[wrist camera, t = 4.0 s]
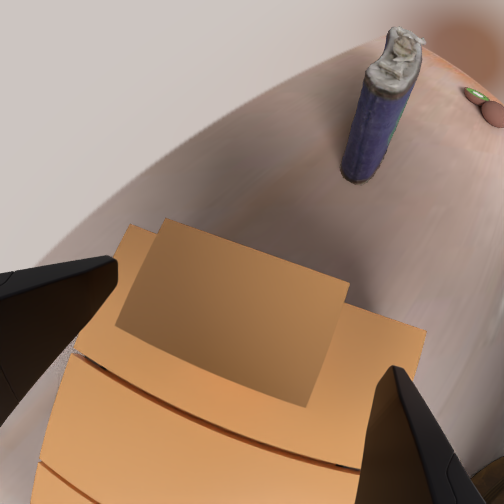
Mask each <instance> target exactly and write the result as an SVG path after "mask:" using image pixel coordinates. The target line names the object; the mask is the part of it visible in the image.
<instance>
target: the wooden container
mask: <svg viewBox="0 0 504 504" xmlns="http://www.w3.org/2000/svg"><path fill="white" fill-rule="evenodd" d="M471 481H472V482H473V484H474V486H475V487H476V489H477V490H478V492H479V493H480V495H481V496H482V498H483V499H484V501H485V502H486V504H504V456H503V457H501V458H499V459H497V460H495V461H494V462H492V463H490V464H489V465H488V466H486V467H485V468H483V469H482V470H481V471H479V472H478V473H477V474H476V475H474V476H473V477H472V478H471Z"/></svg>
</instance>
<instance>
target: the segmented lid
mask: <svg viewBox="0 0 504 504" xmlns="http://www.w3.org/2000/svg"><path fill="white" fill-rule="evenodd" d="M113 258H115V259H116V260H117V261H118V284H117V286H116V288H115V289H114V290H113V292H112V293H111V294H110V296H109V297H108V298H107V300H106V301H105V302H104V303H103V305H102V306H101V307H100V309H99V310H98V311H97V313H96V314H95V315H94V317H93V318H92V319H91V320H90V321H89V323H88V324H87V325H86V326H85V327H84V328H83V329H82V330H81V331H80V332H79V334H78V337H77V339H76V342H75V345H74V347H73V348H75V349H76V350H78V351H79V352H81V353H82V354H84V355H85V356H87V357H88V358H90V359H92V360H93V361H95V362H96V363H98V364H99V365H101V366H103V367H104V368H106V369H107V370H104V369H102V368H101V367H99V366H98V365H96V364H94V363H93V362H91V361H90V360H88V359H87V358H85V357H83V356H82V355H80V354H74V353H71V355H70V358H69V361H68V363H67V366H66V369H65V372H64V375H63V378H62V380H61V383H60V386H59V389H58V393H57V396H56V399H55V402H54V405H53V409H52V412H51V415H50V419H49V422H48V426H47V429H46V433H45V437H44V441H43V444H42V448H41V453H40V457H39V459H40V460H42V461H41V462H38V466H37V470H36V475H35V480H34V485H33V490H32V496H31V502H30V504H354V503H355V498H356V493H357V488H358V482H359V476H360V471H357V470H353V469H348V468H343V467H339V466H335V465H336V464H339V465H344V466H348V467H353V468H358V469H361V464H362V458H363V451H364V443H365V436H366V430H367V425H368V421H369V417H370V412H371V408H372V403H373V398H374V393H375V388H376V386H377V384H378V382H379V380H380V379H381V378H382V376H383V375H384V374H385V372H386V371H387V369H388V368H389V367H390V366H391V365H395V366H398V367H402V368H404V369H405V371H406V372H407V374H408V375H409V377H410V379H411V380H412V382H413V379H414V376H415V372H416V369H417V366H418V362H419V359H420V355H421V352H422V348H423V344H424V341H425V337H426V333H427V331H425V330H422V329H419V328H417V327H414V326H411V325H408V324H405V323H402V322H399V321H396V320H393V319H390V318H387V317H384V316H382V315H379V314H376V313H373V312H370V311H367V310H364V309H361V308H358V307H356V306H353V305H350V304H347V303H344V301H345V298H346V295H347V291H348V288H349V285H350V283H348V282H345V281H343V280H340V279H337V278H334V277H331V276H329V275H326V274H323V273H320V272H317V271H315V270H312V269H309V268H306V267H303V266H300V265H298V264H295V263H292V262H289V261H286V260H284V259H281V258H278V257H275V256H272V255H269V254H267V253H264V252H261V251H258V250H255V249H252V248H250V247H247V246H244V245H241V244H238V243H236V242H233V241H230V240H227V239H224V238H221V237H219V236H216V235H213V234H210V233H207V232H204V231H202V230H199V229H196V228H193V227H190V226H187V225H184V224H182V223H179V222H176V221H173V220H170V219H167V218H165V220H164V222H163V224H162V226H161V228H160V230H159V232H158V234H155V233H153V232H150V231H148V230H145V229H142V228H140V227H137V226H134V225H132V224H130V225H129V227H128V229H127V230H126V232H125V234H124V236H123V238H122V240H121V242H120V244H119V246H118V248H117V250H116V252H115V254H114V256H113Z"/></svg>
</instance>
